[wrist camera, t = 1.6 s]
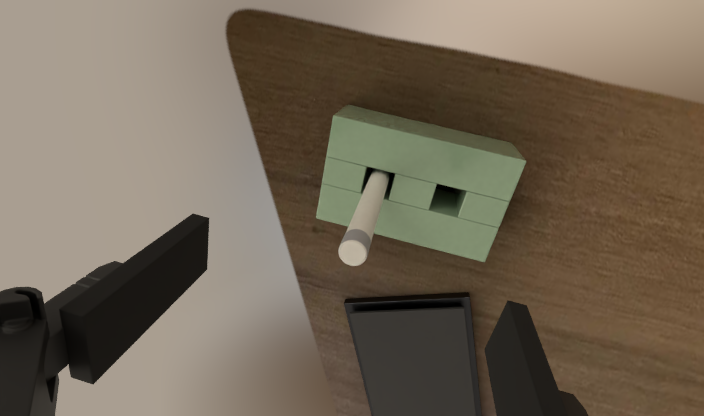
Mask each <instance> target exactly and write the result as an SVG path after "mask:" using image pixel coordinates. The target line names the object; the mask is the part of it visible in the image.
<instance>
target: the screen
mask: <svg viewBox="0 0 704 416" xmlns="http://www.w3.org/2000/svg"><path fill="white" fill-rule="evenodd" d="M350 318H351V322H352V326H353V330H354V334H355V338H356V342H357V346H358V351H359V355H360V359H361V363H362V367H363V371H364V375H365V379H366V383H367V387H368V391H369V395H370V399H371V403H372V407H373V411H374V416H476V412H475V403H474V394H473V385H472V375H471V366H470V357H469V348H468V339H467V329H466V320H465V311H464V307H448V308H426V309H403V310H381V311H359V312H350Z"/></svg>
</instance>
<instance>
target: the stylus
mask: <svg viewBox="0 0 704 416" xmlns="http://www.w3.org/2000/svg"><path fill="white" fill-rule="evenodd" d="M390 174H391V172H388V171H384V170H380V169H376V168H374V169H373V171H372V173H371V176H370V178H369V180H368V183H367V185H366V187H365V190H364V192H363V194H362V197H361V199H360V201H359V203H358V206H357V208H356V210H355V213H354V215H353V217H352V220H351V222H350V224H349V227H348V229H347V231H346V233H345V235H344V237H343V239H342V242H341V244H340V246H339V250H338V251H339V256H340V258H341V260H342V261H343V262H344V263H346V264H348V265H351V266H357V265H360V264H362V263H363V262H364V261H365V260H366V259H367V256H368V252H369V249H370V245H371V241H372V237H373V234H374V230H375V227H376V223H377V220H378V216H379V213H380V209H381V206H382V202H383V199H384V195H385V192H386V188H387V185H388V181H389V178H390Z"/></svg>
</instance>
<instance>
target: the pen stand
mask: <svg viewBox="0 0 704 416" xmlns="http://www.w3.org/2000/svg"><path fill="white" fill-rule="evenodd" d="M326 156H327V157H326V161H325V167H324V173H323V179H322V185H321V191H320V197H319V202H318V208H317V214H316V218H317V219H321V220H324V221H328V222H332V223H336V224H340V225H343V226H347V227H349V224H350V222H351V220H352V217H353V215H354V213H355V210H356V208H357V206H358V203H359V201H360V199H361V197H362V194H363V192H364V190H365V187H366V185H367V183H368V180H369V178H370V176H371V173H370V170H371V168H376V169H380V170H384V171H388V172H392V173H395V176H394V178H389V181H388V185H387V188H386V192H385V195H384V199H383V202H382V206H381V209H380V213H379V216H378V220H377V223H376V227H375V230H374V234H378V235H382V236H386V237H389V238H393V239H397V240H401V241H405V242H409V243H412V244H416V245H420V246H424V247H428V248H431V249H435V250H439V251H443V252H447V253H451V254H454V255H458V256H462V257H466V258H470V259H474V260H477V261H481V262H485V261H486V258H487V256H488V253H489V251H490V249H491V246H492V244H493V241H494V239H495V236H496V234H497V232H498V229H499V228H498V227H500V224H501V222H502V220H503V217H504V215H505V212H506V210H507V207H508V205H509V201H510V200H511V198H512V195H513V193H514V191H515V188H516V186H517V183H518V181H519V179H520V176H521V174H522V171H523V169H524V166H525V164H526V160H525V159H524V158H523V156H522V155H521V154H520V153H519V152H518V150H517V149H516V148H515V147H514V145H513V144H512V143H510V142H506V141H501V140H497V139H493V138H489V137H484V136H480V135H476V134H471V133H467V132H463V131H458V130H454V129H450V128H445V127H441V126H437V125H433V124H428V123H424V122H420V121H415V120H411V119H407V118H402V117H398V116H394V115H389V114H385V113H381V112H377V111H372V110H368V109H364V108H359V107H355V106H351V105H347V106H345V107H344V108H343V109H341V110H340V111H339V112H337V113H336V114H335V115H334V116H333V119H332V125H331V131H330V137H329V143H328V149H327V155H326ZM437 184H441V185H445V186H449V187H453V188H455V190H454V193H451V192H447V191H443V190H439V189H436V186H437Z"/></svg>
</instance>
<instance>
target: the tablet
mask: <svg viewBox="0 0 704 416" xmlns="http://www.w3.org/2000/svg"><path fill="white" fill-rule="evenodd" d="M344 306H345V310H346V314H347V318H348V322H349V326H350V330H351V334H352V338H353V342H354V346H355V350H356V354H357V358H358V362H359V366H360V370H361V374H362V378H363V382H364V386H365V390H366V394H367V398H368V402H369V406H370V410H371V414H372V416H374V411H373V407H372V403H371V399H370V395H369V391H368V387H367V383H366V379H365V375H364V371H363V367H362V363H361V359H360V355H359V351H358V346H357V342H356V338H355V334H354V330H353V326H352V322H351V318H350V312H359V311H381V310H403V309H426V308H448V307H464V311H465V320H466V329H467V339H468V348H469V357H470V366H471V375H472V385H473V394H474V403H475V412H476V416H482V414H481V404H480V395H479V385H478V375H477V365H476V355H475V345H474V335H473V325H472V315H471V305H470V296H469V293H468V292H467V293H449V294H430V295H412V296H393V297H374V298H356V299H345V302H344Z"/></svg>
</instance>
